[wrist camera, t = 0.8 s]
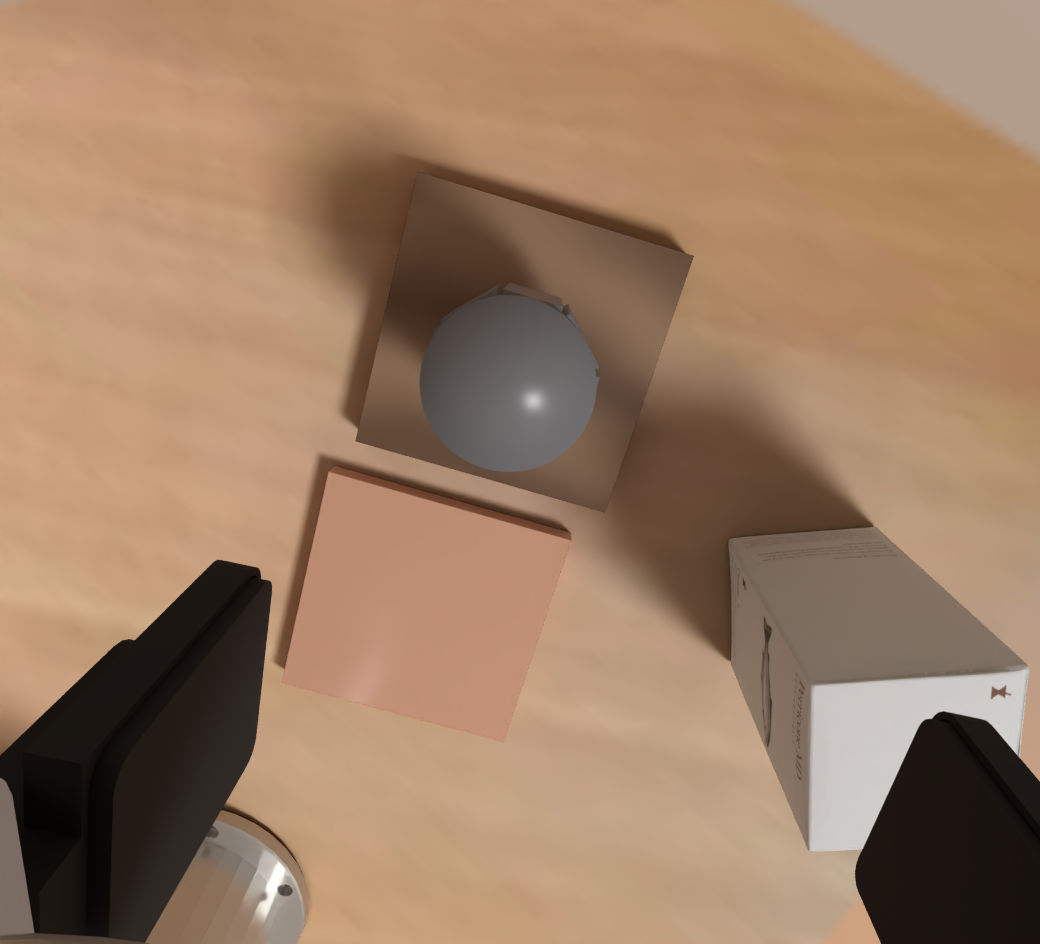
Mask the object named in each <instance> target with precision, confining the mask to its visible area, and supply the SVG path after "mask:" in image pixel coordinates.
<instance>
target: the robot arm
mask: <svg viewBox="0 0 1040 944" xmlns="http://www.w3.org/2000/svg"><path fill="white" fill-rule="evenodd" d="M271 595H272V584H271V582H270V581H268V580H263V579H261V573H260V570H259V568H256V567H252V566H247V565H242V564H237V563H233V562H228V561H223V560H216V561H215V562H213V563H212V564H211V565H210V566H209V567H208V568H207V569H206V570H205V571H204V572H203V573H202V574H201V575H200V576H199V577H198V578H197V579H196V580H195V581H194V582H193V583H192V584H191V585H190V586H189V587H188V588H187V589H186V590H185V591H184V592H183V593H182V594H181V595H180V596H179V597H178V598H177V599H176V600H175V601H174V602H173V603H172V604H171V605H170V606H169V607H168V608H167V609H166V610H165V611H164V612H163V613H162V614H161V615H160V616H159V617H158V618H157V619H156V620H155V621H154V622H153V623H152V624H151V625H150V626H149V627H148V628H147V629H146V630H145V631H144V632H143V633H142V634H141V635H140V636H139V637H138V638H137V639H136V640H131V639H128V640H123V641H121V642H120V643H118V644H117V645H115V646H114V647H113V648H112V649H111V650H110V651H109V652H108V653H107V654H106V655H105V656H103V657H102V658H101V659H100V660H99V661H98V662H97V663H96V664H95V665H94V666H93V667H92V668H91V669H90V670H89V671H88V672H87V673H86V674H85V675H84V676H83V677H82V678H81V679H80V680H78V681H77V682H76V683H75V684H74V685H73V686H72V687H71V688H70V689H69V690H68V691H67V692H66V693H65V694H64V695H63V696H62V697H61V698H60V699H59V700H58V701H57V702H56V703H54V704H53V705H52V706H51V707H50V708H49V709H48V710H47V711H46V712H45V713H44V714H43V715H42V716H41V717H40V718H39V719H38V720H37V721H36V722H35V723H34V724H33V725H32V726H31V727H29V728H28V729H27V730H26V731H25V732H24V733H23V734H22V735H21V736H20V737H19V738H18V739H17V740H16V741H15V742H14V743H13V744H12V745H11V746H10V747H9V748H8V749H7V750H5V751H4V752H3V753H2V754H1V755H0V944H297V943H298V941H299V938H300V936H301V933H302V931H303V928H304V925H305V922H306V918H307V914H308V892H307V888H306V883H305V879H304V877H303V875H302V873H301V871H300V869H299V866H298V864H297V863H296V861H295V860H294V859H293V857H292V856H291V855H290V853H289V852H288V851H287V849H286V848H285V847H284V846H283V845H282V844H281V843H280V842H279V841H278V840H277V839H275V838H274V837H273V836H272V835H271V834H270V833H268V832H267V831H265V830H264V829H262V828H261V827H259V826H258V825H256V824H255V823H253V822H251V821H249V820H247V819H245V818H242V817H240V816H238V815H236V814H233V813H230V812H227V811H223V810H222V808H223V806H224V805H225V803H226V801H227V799H228V798H229V796H230V794H231V792H232V791H233V789H234V787H235V785H236V784H237V782H238V780H239V778H240V777H241V775H242V773H243V771H244V770H245V768H246V766H247V764H248V762H249V760H250V757H251V755H252V752H253V749H254V745H255V740H256V734H257V724H258V715H259V706H260V697H261V687H262V678H263V669H264V660H265V650H266V641H267V632H268V623H269V613H270V604H271ZM855 879H856V886H857V889H858V892H859V894H860V896H861V899H862V901H863V903H864V906H865V908H866V910H867V912H868V915H869V917H870V919H871V921H872V924H873V926H874V928H875V931H876V933H877V935H878V937H879V940H880V942H881V944H1040V781H1039V780H1038V779H1037V778H1036V777H1035V775H1034V774H1033V773H1032V772H1031V771H1030V770H1029V768H1028V767H1026V765H1025V764H1024V763H1023V761H1022V760H1021V759H1020V758H1019V757H1018V755H1017V754H1016V753H1015V752H1014V751H1013V749H1012V748H1011V747H1010V746H1009V745H1008V744H1007V742H1006V741H1005V740H1004V739H1003V738H1002V736H1001V735H1000V734H999V733H998V732H997V731H996V729H995V728H994V727H993V726H992V725H991V724H990V723H989V722H988V721H986V720H983V719H979V718H974V717H969V716H965V715H960V714H955V713H950V712H946V711H943V712H938V713H937V714H936V715H935V716H933V718H932V719H925V720H924V721H923V722H922V723H921V724H920V726H919V727H918V729H917V731H916V734H915V736H914V738H913V740H912V742H911V745H910V747H909V749H908V751H907V753H906V756H905V758H904V760H903V762H902V764H901V766H900V769H899V771H898V773H897V775H896V777H895V780H894V782H893V784H892V786H891V788H890V790H889V793H888V795H887V797H886V799H885V801H884V804H883V806H882V808H881V810H880V812H879V814H878V817H877V819H876V821H875V823H874V825H873V828H872V830H871V832H870V834H869V836H868V838H867V841H866V843H865V845H864V847H863V849H862V852H861V854H860V856H859V858H858V861H857V864H856V870H855Z"/></svg>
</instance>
